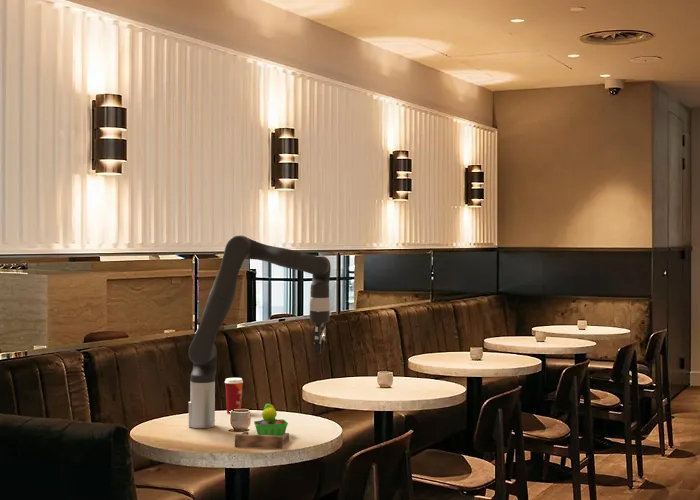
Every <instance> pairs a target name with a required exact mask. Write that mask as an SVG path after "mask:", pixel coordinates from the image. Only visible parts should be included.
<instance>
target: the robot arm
mask: <svg viewBox="0 0 700 500" xmlns="http://www.w3.org/2000/svg"><path fill="white" fill-rule="evenodd" d="M245 260H257V261H262V262H267V263H269V264H270V263H271V264H273V265H276V266H279V267H282V268H287V269H290V270H295V271H302V272H304V273H308V274H311V275H312V279H311V280H312V282H311V284H310V299H309V322H311V323H314V326H313V327H312V343H313V344H314V355H320V354H321V353H322V352H324V351H325V341H326V338H327V336H326V335H327V334H326V332H327V331H326V330H327V329H326V325H327V323H330V320H331V319H330V318H331V316H330V315H331V314H330V313H331V310H330V309H331V303H330V277H331V262H330V260H329V259H328V258H327V256H324V255H313V254H309V253H304V252H302V251H298V250H294V249H290V248H284V247H279V246H274V245H273V246H272V245H268V244H264V243H261V242H260V241H259V242H258V241H256V240H253V239H252V238H249V237H247V236H246V235H234V236H231V237H230V238H229V239H228V240H227V241H226V244H225V248H224V252H223V256H222V259H221V263H220V267H219V270H218V272H217V274H216V277H215V278H214V281H213V283H212V287H211V290H210V291H209V295H208V297H207V300H206V303H205V307H204V310H203V312H202V316H201V319H200V323H199V325H198V329H197V331H196V332H195V335H194V336H193V339H192V342H191V343H190V344H189V347H188V358H189V360H190V361H191V363H192V369H191V370H192V371H191V373H190V378H189V380H190V381H189V382H190V385H189V387H190V388H189V389H190V390H189V391H190V393H189V394H190V401H188V427H189V428H195V429H208V428H213V427H215V423H216V422H215V421H216V419H215V418H216V417H215V415H216V407H215V405H216V397H215V396H216V395H215V394H216V389H215V388H216V386H215V385H216V382H215V381H216V374H217V362H218V352H217V351H218V350H217V346H216V343H215V341H216V338H217V335H218V331H220V329H221V327H222V325H223V324H224V322H225V320H226V318H227V316H228V315H229V312H230V311H231V310H230V309H231V308H232V305H233V302H234V299H235V295H236V291H237V290H236V289H237V284H238V283H237V282H238V275H239V272H240V270H241V268H242V265H243V264H244V262H245Z"/></svg>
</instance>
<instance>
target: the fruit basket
mask: <svg viewBox="0 0 700 500" xmlns="http://www.w3.org/2000/svg"><path fill="white" fill-rule="evenodd" d="M277 415H278V413H277V410H276V409H275V406H274V405H273V404H271V403H266V404H265V405H264V407H263V410H262V413H261V417H262V419H261V420H254V421H253V424H254V426H255V429H256V435H276V436H283V435H284V434H285V433H286V431H287V427H288V425H289V423H288V421H286V420H285V419H279V418H278V419H276V417H277Z"/></svg>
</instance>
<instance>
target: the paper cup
mask: <svg viewBox="0 0 700 500" xmlns="http://www.w3.org/2000/svg"><path fill="white" fill-rule="evenodd" d="M243 383H244V381H243V378H242V377H228V378H225V380H224V384H225V401H226V404H225V405H226V413H227V414H228V415H230V414H229V413H230V412H229V411H231V410H234V409H241V410H242V402H243V401H242V398H243Z"/></svg>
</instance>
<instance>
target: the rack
mask: <svg viewBox="0 0 700 500" xmlns="http://www.w3.org/2000/svg"><path fill="white" fill-rule="evenodd" d="M289 441H290V432H285V434H284V435H283V436H276V435H258V434H250V433H249V431H246V430H245V431H243V432H242V433H241V434H240V433H235V434H234V447H236V448H259V449H260V448H261V449H283V447H284V446H285V445H286V444H287V443H288V442H289Z"/></svg>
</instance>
